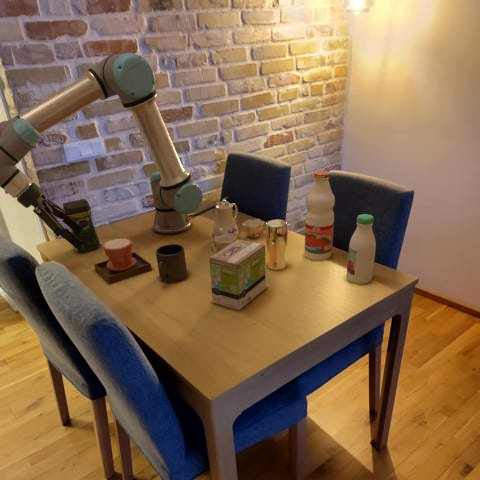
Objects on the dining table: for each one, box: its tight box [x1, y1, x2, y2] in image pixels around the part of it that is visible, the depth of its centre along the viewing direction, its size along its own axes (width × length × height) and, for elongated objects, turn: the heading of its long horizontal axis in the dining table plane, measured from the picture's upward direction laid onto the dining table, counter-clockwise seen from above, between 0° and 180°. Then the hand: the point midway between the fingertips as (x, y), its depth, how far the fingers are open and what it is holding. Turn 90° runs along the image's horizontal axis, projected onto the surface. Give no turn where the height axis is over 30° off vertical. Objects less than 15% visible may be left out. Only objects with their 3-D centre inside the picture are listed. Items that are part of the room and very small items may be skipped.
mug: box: [155, 243, 188, 284], centre depth 139 cm, size 12×9×10 cm
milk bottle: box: [346, 213, 377, 285], centre depth 129 cm, size 8×8×20 cm
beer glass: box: [265, 219, 289, 271], centre depth 141 cm, size 7×7×15 cm
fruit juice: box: [304, 170, 336, 261], centre depth 143 cm, size 9×9×28 cm
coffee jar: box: [62, 198, 101, 253], centre depth 163 cm, size 10×8×19 cm
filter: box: [102, 238, 137, 272], centre depth 147 cm, size 10×10×9 cm
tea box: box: [208, 238, 267, 311], centre depth 126 cm, size 15×10×15 cm, turn 148°
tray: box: [93, 251, 153, 285], centre depth 149 cm, size 15×13×2 cm
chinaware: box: [210, 197, 266, 253], centre depth 161 cm, size 28×17×17 cm, turn 148°
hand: (80, 238), depth 143 cm, fingers open, 13 cm apart
